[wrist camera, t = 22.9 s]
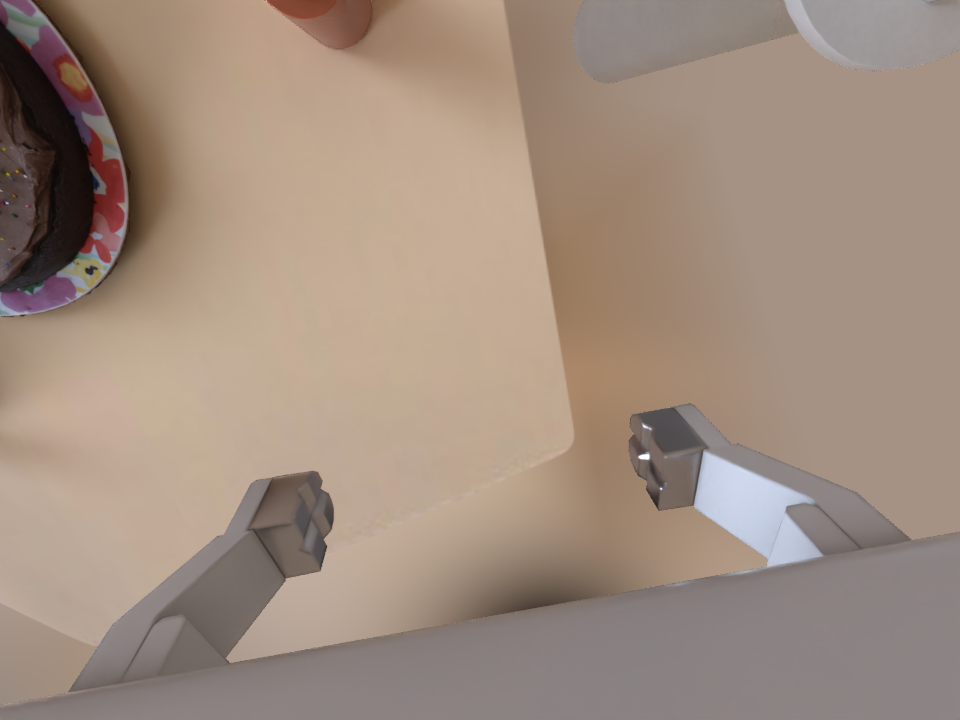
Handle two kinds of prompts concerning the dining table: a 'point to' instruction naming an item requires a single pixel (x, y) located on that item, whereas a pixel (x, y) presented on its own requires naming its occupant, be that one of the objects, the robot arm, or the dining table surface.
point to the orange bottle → (328, 19)
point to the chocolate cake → (54, 169)
